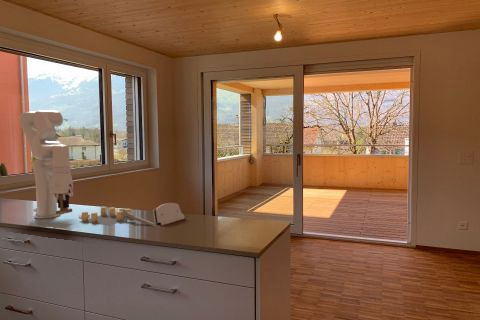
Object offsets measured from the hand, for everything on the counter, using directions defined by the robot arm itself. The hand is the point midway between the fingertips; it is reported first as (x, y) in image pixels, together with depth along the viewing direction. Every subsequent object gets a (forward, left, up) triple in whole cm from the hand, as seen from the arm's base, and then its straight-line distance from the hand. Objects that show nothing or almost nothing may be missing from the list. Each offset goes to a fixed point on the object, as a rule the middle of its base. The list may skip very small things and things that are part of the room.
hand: (63, 207), depth 176 cm
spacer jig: (+15, +13, -8) cm, 21 cm away
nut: (0, +13, -9) cm, 16 cm away
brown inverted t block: (0, 0, -3) cm, 3 cm away
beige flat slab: (+44, +24, -9) cm, 51 cm away
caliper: (+34, +13, -9) cm, 38 cm away
